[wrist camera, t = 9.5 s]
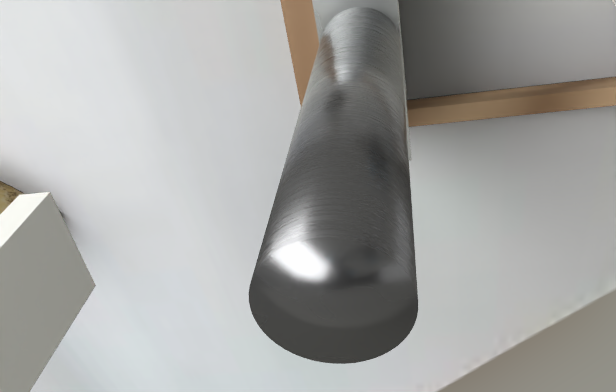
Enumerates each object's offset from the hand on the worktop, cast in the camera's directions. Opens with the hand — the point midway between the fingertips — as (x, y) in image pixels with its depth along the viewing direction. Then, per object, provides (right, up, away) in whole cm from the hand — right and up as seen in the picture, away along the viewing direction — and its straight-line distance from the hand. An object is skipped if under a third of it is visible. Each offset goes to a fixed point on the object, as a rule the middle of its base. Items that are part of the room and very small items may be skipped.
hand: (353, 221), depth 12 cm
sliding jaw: (+2, +11, +17) cm, 20 cm away
